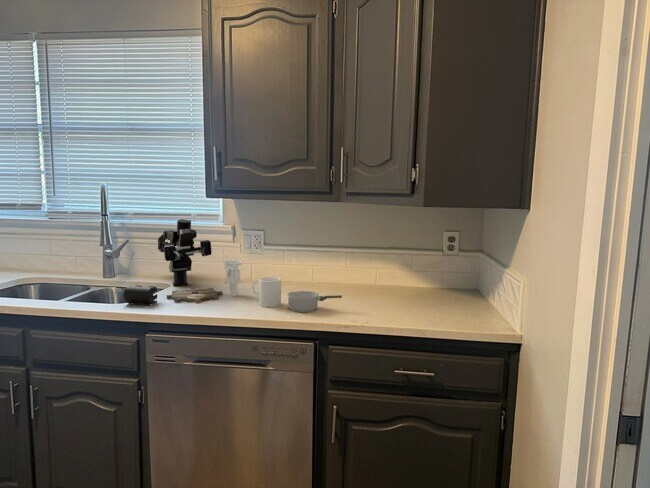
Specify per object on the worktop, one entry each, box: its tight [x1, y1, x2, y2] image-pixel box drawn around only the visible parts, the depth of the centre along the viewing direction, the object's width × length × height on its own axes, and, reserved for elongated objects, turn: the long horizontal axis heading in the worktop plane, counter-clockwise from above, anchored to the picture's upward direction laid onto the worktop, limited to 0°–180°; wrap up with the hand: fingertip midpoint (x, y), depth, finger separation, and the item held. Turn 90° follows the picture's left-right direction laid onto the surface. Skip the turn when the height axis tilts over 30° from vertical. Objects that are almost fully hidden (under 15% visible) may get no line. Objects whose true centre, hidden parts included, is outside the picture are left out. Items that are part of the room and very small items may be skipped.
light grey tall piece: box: [223, 259, 243, 297], centre depth 180 cm, size 7×7×15 cm
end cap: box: [123, 285, 158, 306], centre depth 165 cm, size 10×7×7 cm
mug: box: [250, 276, 282, 308], centre depth 167 cm, size 8×12×10 cm, turn 73°
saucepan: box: [287, 290, 343, 313], centre depth 161 cm, size 12×20×6 cm, turn 85°
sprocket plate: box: [166, 287, 223, 304], centre depth 178 cm, size 22×22×2 cm
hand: (192, 256), depth 175 cm, fingers open, 9 cm apart
